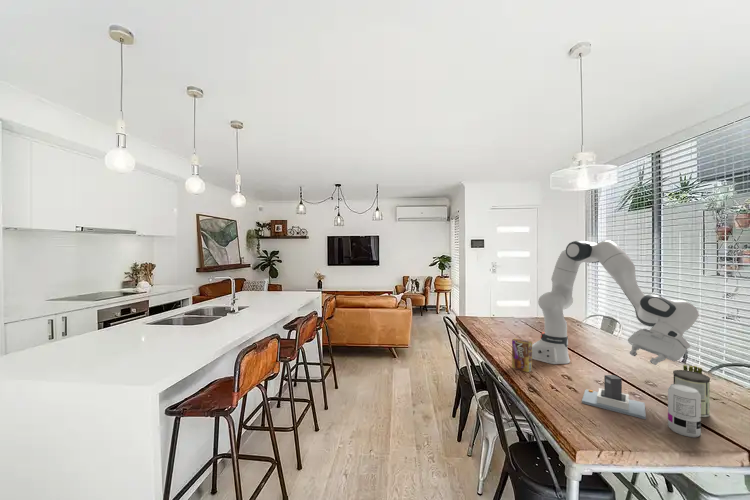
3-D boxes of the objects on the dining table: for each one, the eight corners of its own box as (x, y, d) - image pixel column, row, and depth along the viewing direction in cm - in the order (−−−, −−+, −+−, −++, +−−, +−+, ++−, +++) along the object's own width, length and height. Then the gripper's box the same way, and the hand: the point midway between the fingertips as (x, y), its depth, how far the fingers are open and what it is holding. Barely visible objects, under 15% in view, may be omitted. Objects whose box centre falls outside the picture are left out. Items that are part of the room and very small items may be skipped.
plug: (604, 399, 132) (604, 375, 132) (613, 399, 132) (614, 374, 132) (611, 403, 128) (611, 378, 128) (621, 403, 128) (621, 378, 128)
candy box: (532, 370, 166) (532, 341, 166) (528, 372, 163) (528, 342, 163) (515, 366, 173) (515, 337, 173) (511, 367, 170) (511, 339, 170)
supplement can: (661, 425, 114) (661, 383, 114) (682, 424, 115) (682, 382, 115) (685, 438, 106) (685, 393, 106) (707, 437, 107) (708, 392, 107)
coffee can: (667, 402, 132) (667, 368, 132) (699, 406, 128) (699, 371, 128) (681, 414, 122) (682, 377, 122) (716, 419, 119) (717, 381, 119)
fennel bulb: (681, 391, 142) (681, 364, 142) (688, 389, 144) (688, 363, 144) (698, 397, 137) (698, 368, 137) (705, 395, 139) (705, 367, 139)
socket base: (581, 403, 131) (581, 394, 131) (585, 391, 142) (585, 383, 142) (645, 419, 118) (645, 409, 118) (644, 405, 129) (644, 396, 129)
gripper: (637, 322, 142) (615, 345, 142) (684, 336, 122) (660, 362, 121) (646, 332, 143) (625, 355, 142) (695, 347, 122) (670, 374, 122)
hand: (641, 358), depth 132 cm, fingers open, 8 cm apart
